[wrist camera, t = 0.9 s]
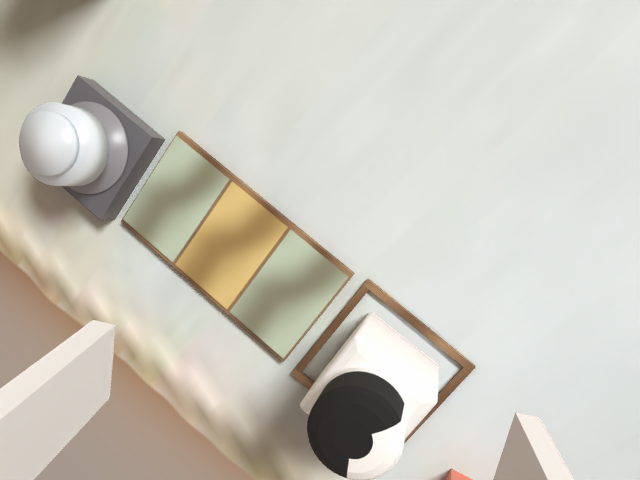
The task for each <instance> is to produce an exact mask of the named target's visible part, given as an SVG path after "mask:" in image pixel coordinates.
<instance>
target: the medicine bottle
mask: <svg viewBox="0 0 640 480" xmlns="http://www.w3.org/2000/svg"><path fill="white" fill-rule="evenodd" d="M438 383H439V365H438V364H437V363H436V362H434V361H433V360H432V359H431V358H429V357H428V356H427V355H426V354H424V353H423V352H422V351H421V350H419V349H418V348H417V347H416V346H414V345H413V344H412V343H410V342H409V341H408V340H407V339H405V338H404V337H403V336H402V335H400V334H399V333H398V332H397V331H395V330H394V329H393V328H392V327H390V326H389V325H388V324H386V323H385V322H384V321H383V320H381V319H380V318H379V317H378V316H376V315H375V314H374V313H368V314H367V315H366V316H365V318H364V319H363V320H362V322H361V323H360V324H359V325H358V327H357V328H356V329H355V330H354V332H353V333H352V334H351V335H350V337H349V338H348V339H347V340H346V342H345V343H344V344H343V346H342V347H341V348H340V349H339V351H338V352H337V353H336V354H335V356H334V357H333V358H332V359H331V361H330V362H329V363H328V364H327V366H326V367H325V368H324V370H323V371H322V372H321V374H320V375H319V377H318V378H317V380H316V381H315V382H314V384H313V385H312V387H311V388H310V390H309V391H308V393H307V394H306V395H305V397H304V398H303V400H302V401H301V403H300V408H301V409H302V410H303V411H304V412H305V413H306V414H308V415H309V417H308V424H307V431H308V437H309V442H310V444H311V447H312V449H313V451H314V453H315V454H316V456H317V457H318V459H319V460H320V461H321V462H322V463H323V464H324V465H325V466H326V467H327V468H328V469H330V470H331V471H333V472H334V473H336V474H338V475H340V476H342V477H345V478H348V479H353V480H370V479H375V478H377V477H380V476H382V475H384V474H386V473H387V472H388V471H390V470H391V469H392V468H393V467H394V466H395V465H396V463H397V462H398V460H399V458H400V456H401V454H402V451H403V447H404V441H405V439H406V438H407V437H408V435H409V434H410V433H411V432H412V431H413V430H414V429H415V427H416V426H417V425H418V424H419V423H420V422H421V421H422V420H423V418H424V417H425V416H426V415H427V414H428V413H429V412H430V411H431V409H432V408H433V407H434V406H435V405H436V404H437V401H438Z"/></svg>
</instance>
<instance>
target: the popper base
mask: <svg viewBox="0 0 640 480" xmlns="http://www.w3.org/2000/svg"><path fill="white" fill-rule="evenodd" d="M62 104H65V105H70V106H75V107H79V108H83V109H86V110H88V111H90V112H92V113H93V114H94V115H95V116H96V117H97V118H98V119H99V120H100V121H101V122H102V124H103V126H104V128H105V130H106V132H107V135H108V140H109V157H108V161H107V164H106V166H105V168H104V170H103V172H102V173H101V175H100V176H99V177H98V178H97V179H95V180H94V181H93V182H91V183H89V184H87V185H83V186H62V187H63V188H64V189H66V190H67V191H68V192H69V193H70V194H71V195H72V196H74V197H75V198H76V199H77V200H78V201H79V202H80V203H82V204H83V205H84V206H85V207H86V208H87V209H88V210H90V211H91V212H92V213H93V214H94V215H95V216H96V217H97V218H99V219H100V220H108V219H115V218H116V217H117V215H118V213H119V212H120V210H121V209H122V207H123V205H124V204H125V202H126V201H127V199H128V198H129V196H130V194H131V193H132V191H133V190H134V188H135V186H136V185H137V183H138V182H139V180H140V179H141V177H142V175H143V174H144V172H145V171H146V169H147V168H148V166H149V164H150V163H151V161H152V160H153V158H154V156H155V155H156V153H157V152H158V150H159V149H160V147H161V145H162V144H163V142H164V141H165V139H164V138H163V137H162V136H160V135H159V134H158V133H157V132H156V131H154V130H153V129H152V128H151V127H150V126H148V125H147V124H146V123H145V122H144V121H142V120H141V119H140V118H139V117H137V116H136V115H135V114H134V113H133V112H131V111H130V110H129V109H128V108H127V107H125V106H124V105H123V104H122V103H121V102H119V101H118V100H117V99H116V98H115V97H113V96H112V95H111V94H110V93H108V92H107V91H106V90H105V89H104V88H102V87H101V86H100V85H99V84H98V83H96V82H95V81H94V80H91V79H88V78H85V77H82V76H77V78H76V79H75V81H74V83H73V85H72V86H71V88H70V90H69V92H68V94H67V95H66V97H65V99H64V101H63V103H62Z"/></svg>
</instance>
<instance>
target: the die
mask: <svg viewBox="0 0 640 480" xmlns="http://www.w3.org/2000/svg"><path fill="white" fill-rule="evenodd" d="M446 480H472V479H470V478H468V477H466V476H464V475H462V474H461V473H459V472H457V471H455V470H453V469H451V470H450V472H449V474H448V476H447V478H446Z"/></svg>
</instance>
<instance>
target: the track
mask: <svg viewBox="0 0 640 480" xmlns="http://www.w3.org/2000/svg"><path fill="white" fill-rule="evenodd" d="M121 222H122V223H123V224H124V225H126V226H127V227H128V228H129V229H130V230H131V231H132V232H134V233H135V234H136V235H137V236H138V237H139V238H141V239H142V240H143V241H144V242H145V243H146V244H147V245H149V246H150V247H151V248H152V249H153V250H154V251H155V252H157V253H158V254H159V255H160V256H161V257H162V258H163V259H165V260H166V261H167V262H168V263H169V264H170V265H171V266H173V267H174V268H175V269H176V270H177V271H178V272H180V273H181V274H182V275H183V276H184V277H185V278H186V279H188V280H189V281H190V282H191V283H192V284H193V285H194V286H196V287H197V288H198V289H199V290H200V291H201V292H202V293H204V294H205V295H206V296H207V297H208V298H209V299H210V300H212V301H213V302H214V303H215V304H216V305H217V306H219V307H220V308H221V309H222V310H223V311H224V312H225V313H227V314H228V315H229V316H230V317H231V318H232V319H233V320H235V321H236V322H237V323H238V324H239V325H240V326H241V327H243V328H244V329H245V330H246V331H247V332H248V333H249V334H251V335H252V336H253V337H254V338H255V339H256V340H258V341H259V342H260V343H261V344H262V345H263V346H264V347H266V348H267V349H268V350H269V351H270V352H271V353H272V354H274V355H275V356H276V357H277V358H278V359H279V360H280V361H282V362H284V361H285V359H286V358H287V357H288V356H289V354H290V353H291V352H292V351H293V349H294V348H295V347H296V346H297V344H298V343H299V342H300V341H301V339H302V338H303V337H304V336H305V335H306V333H307V332H308V331H309V330H310V328H311V327H312V326H313V325H314V323H315V322H316V321H317V320H318V318H319V317H320V316H321V315H322V313H323V312H324V311H325V310H326V308H327V307H328V306H329V305H330V303H331V302H332V301H333V300H334V298H335V297H336V296H337V295H338V293H339V292H340V291H341V290H342V288H343V287H344V286H345V285H346V283H347V282H348V281H349V280H350V278H351V277H352V276H353V275H354V272H352V271H351V270H350V269H349V268H347V267H346V266H345V265H344V264H343V263H341V262H340V261H339V260H338V259H336V258H335V257H334V256H333V255H332V254H330V253H329V252H328V251H327V250H325V249H324V248H323V247H322V246H321V245H319V244H318V243H317V242H316V241H314V240H313V239H312V238H311V237H310V236H308V235H307V234H306V233H305V232H303V231H302V230H301V229H300V228H299V227H297V226H296V225H295V224H294V223H292V222H291V221H290V220H289V219H288V218H286V217H285V216H284V215H283V214H281V213H280V212H279V211H278V210H277V209H275V208H274V207H273V206H272V205H271V204H269V203H268V202H267V201H266V200H264V199H263V198H262V197H261V196H260V195H258V194H257V193H256V192H255V191H253V190H252V189H251V188H250V187H249V186H247V185H246V184H245V183H244V182H242V181H241V180H240V179H239V178H238V177H236V176H235V175H234V174H233V173H231V172H230V171H229V170H228V169H227V168H225V167H224V166H223V165H222V164H220V163H219V162H218V161H217V160H216V159H214V158H213V157H212V156H211V155H209V154H208V153H207V152H206V151H205V150H203V149H202V148H201V147H200V146H198V145H197V144H196V143H195V142H194V141H192V140H191V139H190V138H189V137H188V136H186V135H185V134H184V133H183V132H180V131H178V133H177V134H176V136H175V137H174V139H173V140H172V142H171V144H170V145H169V147H168V148H167V150H166V151H165V153H164V155H163V156H162V158H161V159H160V161H159V162H158V164H157V166H156V167H155V169H154V170H153V172H152V173H151V175H150V177H149V178H148V180H147V181H146V183H145V184H144V186H143V188H142V189H141V191H140V192H139V194H138V195H137V197H136V199H135V200H134V202H133V203H132V205H131V206H130V208H129V210H128V211H127V213H126V214H125V216H124V217H123V219H122V221H121Z"/></svg>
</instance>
